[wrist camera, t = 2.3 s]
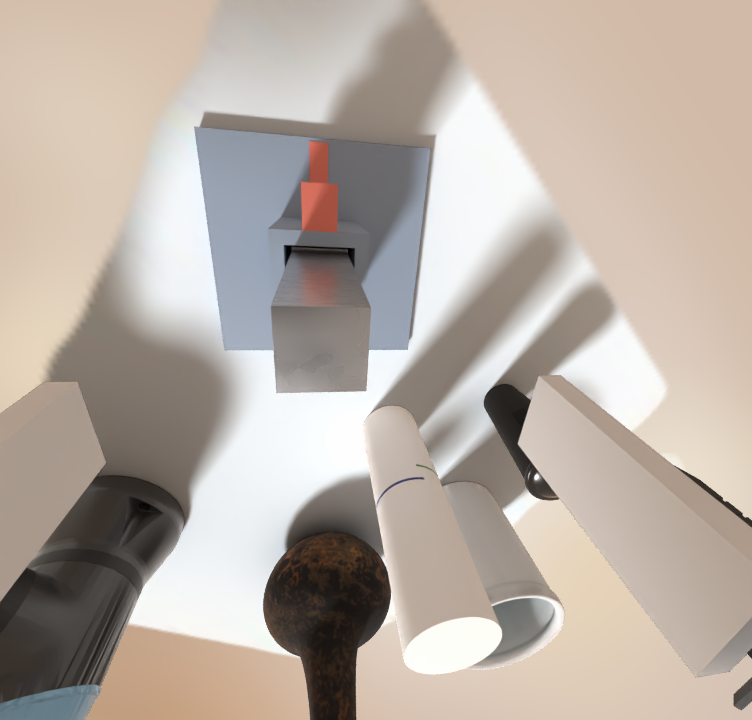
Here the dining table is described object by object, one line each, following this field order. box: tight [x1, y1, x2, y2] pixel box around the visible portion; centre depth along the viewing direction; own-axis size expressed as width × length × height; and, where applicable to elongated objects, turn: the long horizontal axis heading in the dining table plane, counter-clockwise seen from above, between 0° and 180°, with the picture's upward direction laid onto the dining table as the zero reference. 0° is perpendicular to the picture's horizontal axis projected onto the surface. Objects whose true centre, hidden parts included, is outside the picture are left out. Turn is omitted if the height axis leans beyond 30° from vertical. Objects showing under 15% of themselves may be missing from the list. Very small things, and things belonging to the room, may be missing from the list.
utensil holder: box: [442, 481, 565, 670], centre depth 48 cm, size 15×15×18 cm
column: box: [271, 245, 371, 393], centre depth 25 cm, size 4×4×22 cm
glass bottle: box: [263, 532, 391, 720], centre depth 44 cm, size 18×18×28 cm
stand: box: [194, 127, 431, 350], centre depth 31 cm, size 20×20×11 cm
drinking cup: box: [484, 384, 559, 500], centre depth 39 cm, size 8×8×20 cm
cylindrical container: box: [362, 406, 502, 674], centre depth 36 cm, size 7×7×25 cm
